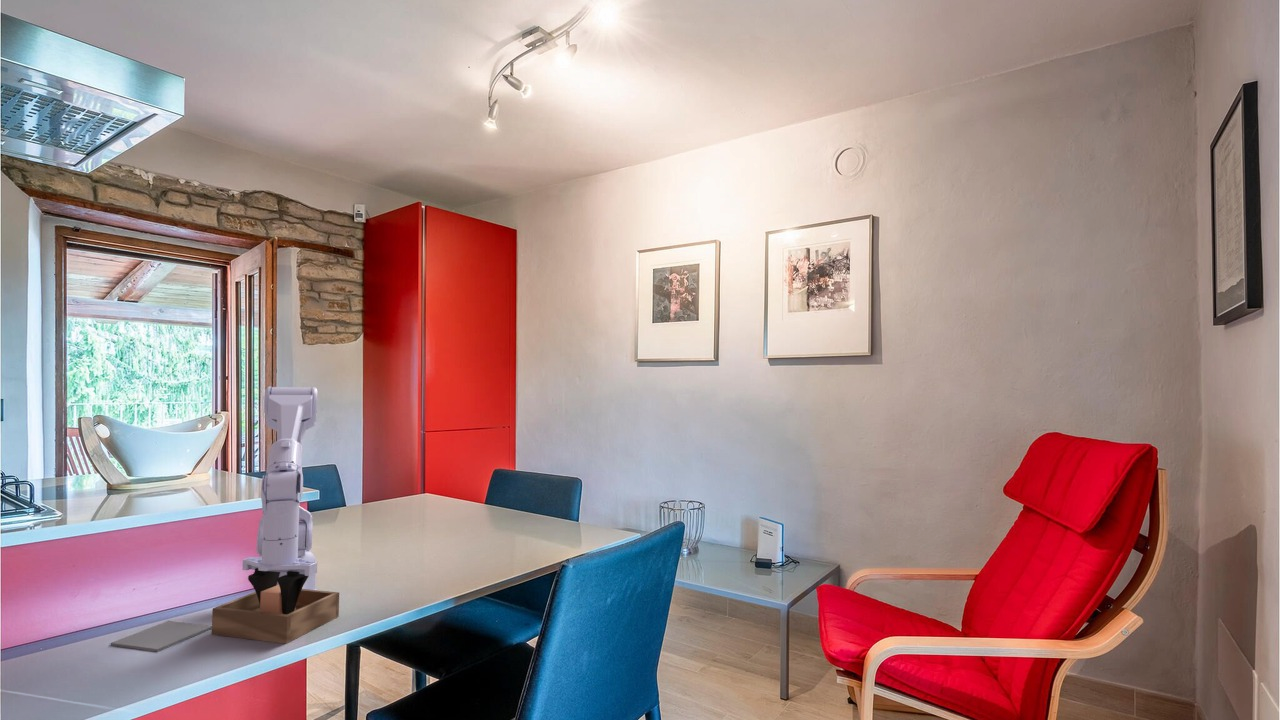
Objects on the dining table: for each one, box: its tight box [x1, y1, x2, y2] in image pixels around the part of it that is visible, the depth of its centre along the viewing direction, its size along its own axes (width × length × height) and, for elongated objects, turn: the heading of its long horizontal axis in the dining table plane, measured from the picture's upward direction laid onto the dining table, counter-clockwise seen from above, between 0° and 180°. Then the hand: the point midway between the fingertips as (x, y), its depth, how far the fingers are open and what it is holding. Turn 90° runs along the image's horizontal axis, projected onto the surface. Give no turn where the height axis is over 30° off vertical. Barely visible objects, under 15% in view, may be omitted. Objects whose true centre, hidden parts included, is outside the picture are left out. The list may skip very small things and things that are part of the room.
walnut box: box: [211, 589, 340, 644], centre depth 111 cm, size 13×16×4 cm
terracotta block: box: [260, 585, 296, 614], centre depth 111 cm, size 4×4×5 cm
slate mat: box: [110, 620, 212, 653], centre depth 106 cm, size 10×10×1 cm
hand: (278, 611), depth 111 cm, fingers closed on terracotta block, 4 cm apart
